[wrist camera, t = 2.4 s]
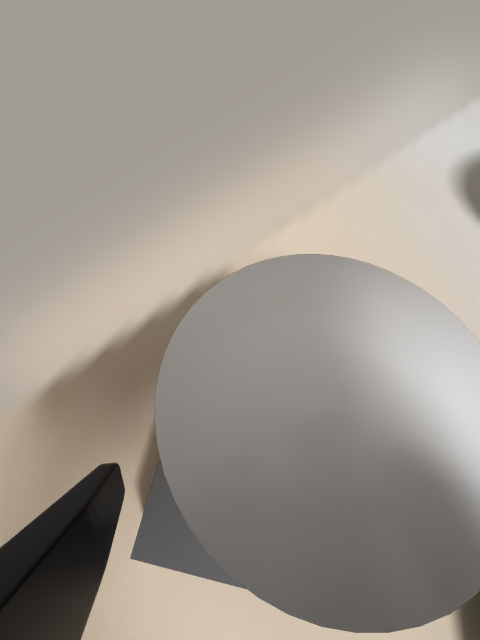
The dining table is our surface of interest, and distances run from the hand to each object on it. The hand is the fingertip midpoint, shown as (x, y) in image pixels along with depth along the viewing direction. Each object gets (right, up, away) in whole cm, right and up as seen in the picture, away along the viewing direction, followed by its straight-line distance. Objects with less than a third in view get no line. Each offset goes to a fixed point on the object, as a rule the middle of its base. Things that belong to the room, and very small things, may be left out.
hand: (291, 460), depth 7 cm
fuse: (0, -4, +8) cm, 9 cm away
